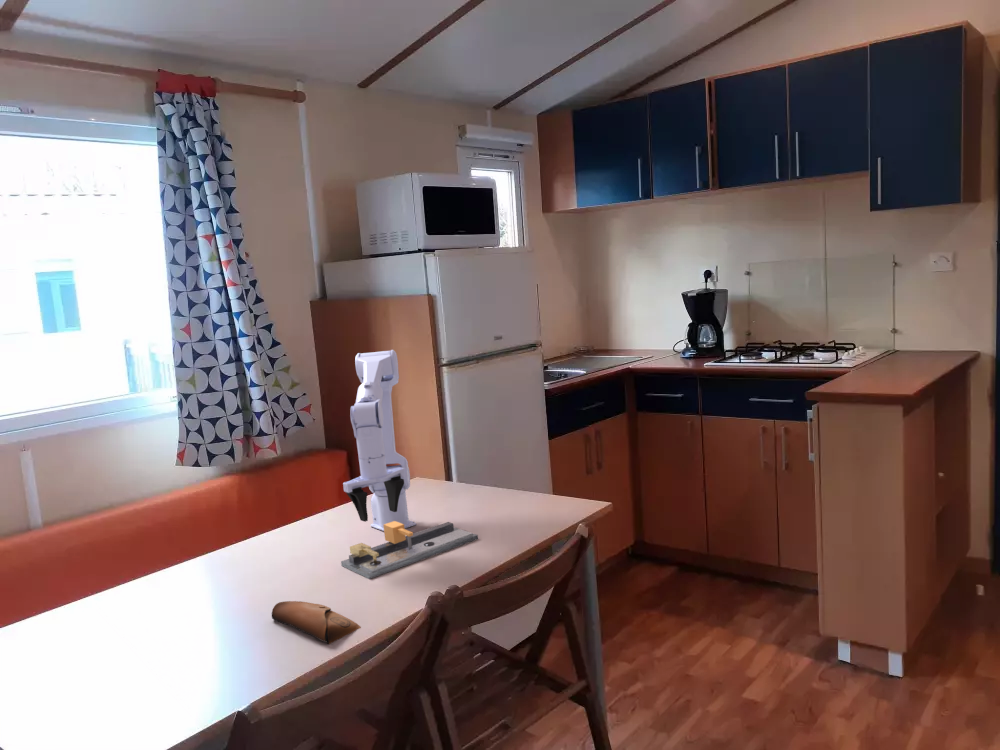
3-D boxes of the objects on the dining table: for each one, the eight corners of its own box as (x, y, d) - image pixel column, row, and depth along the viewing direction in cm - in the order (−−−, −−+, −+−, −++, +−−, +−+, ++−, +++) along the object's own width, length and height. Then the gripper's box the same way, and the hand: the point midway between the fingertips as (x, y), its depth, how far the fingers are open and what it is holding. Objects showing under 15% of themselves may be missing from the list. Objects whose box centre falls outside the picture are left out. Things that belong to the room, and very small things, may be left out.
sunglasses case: (365, 626, 144) (346, 602, 141) (340, 658, 140) (320, 635, 137) (309, 604, 156) (290, 582, 153) (284, 633, 152) (264, 612, 149)
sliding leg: (385, 543, 181) (383, 524, 181) (396, 539, 183) (394, 520, 183) (407, 551, 174) (404, 532, 174) (418, 547, 176) (416, 528, 176)
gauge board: (341, 565, 176) (339, 548, 175) (447, 528, 194) (446, 513, 193) (369, 579, 166) (367, 560, 166) (478, 539, 184) (476, 522, 184)
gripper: (351, 466, 167) (359, 528, 169) (409, 450, 176) (416, 510, 178) (335, 461, 172) (343, 522, 174) (392, 447, 181) (398, 504, 183)
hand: (378, 515), depth 176 cm, fingers open, 7 cm apart
